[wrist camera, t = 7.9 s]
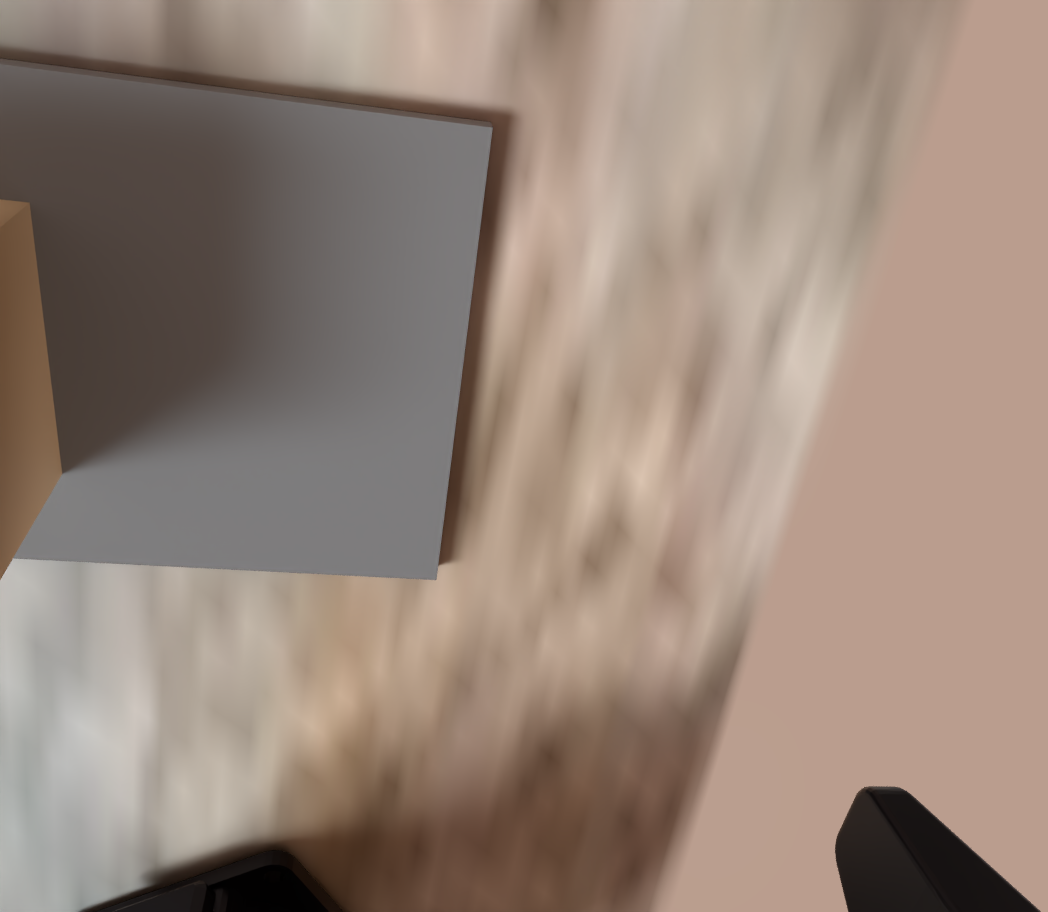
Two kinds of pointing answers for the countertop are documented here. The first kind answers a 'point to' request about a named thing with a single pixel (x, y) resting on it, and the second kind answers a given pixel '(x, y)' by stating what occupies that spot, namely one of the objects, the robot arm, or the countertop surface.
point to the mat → (245, 319)
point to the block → (23, 386)
